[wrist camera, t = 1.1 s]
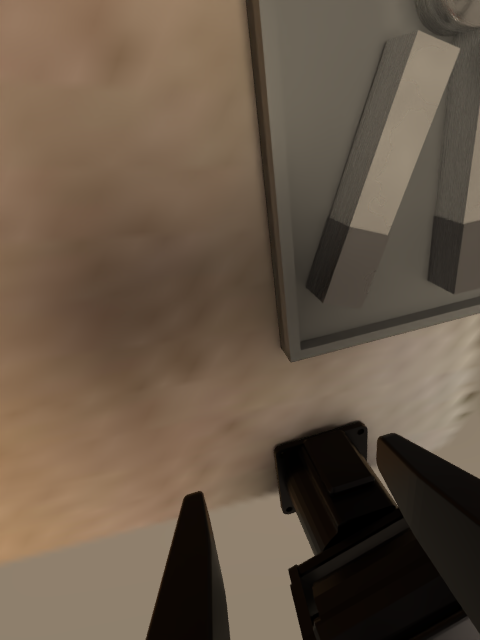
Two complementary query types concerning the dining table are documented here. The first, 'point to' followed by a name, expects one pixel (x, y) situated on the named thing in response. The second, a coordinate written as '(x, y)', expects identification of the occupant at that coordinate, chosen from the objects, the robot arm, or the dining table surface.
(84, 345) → the dining table surface
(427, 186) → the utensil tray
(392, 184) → the bar
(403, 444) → the robot arm
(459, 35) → the tongs fixed body
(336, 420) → the dining table surface
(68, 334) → the dining table surface
